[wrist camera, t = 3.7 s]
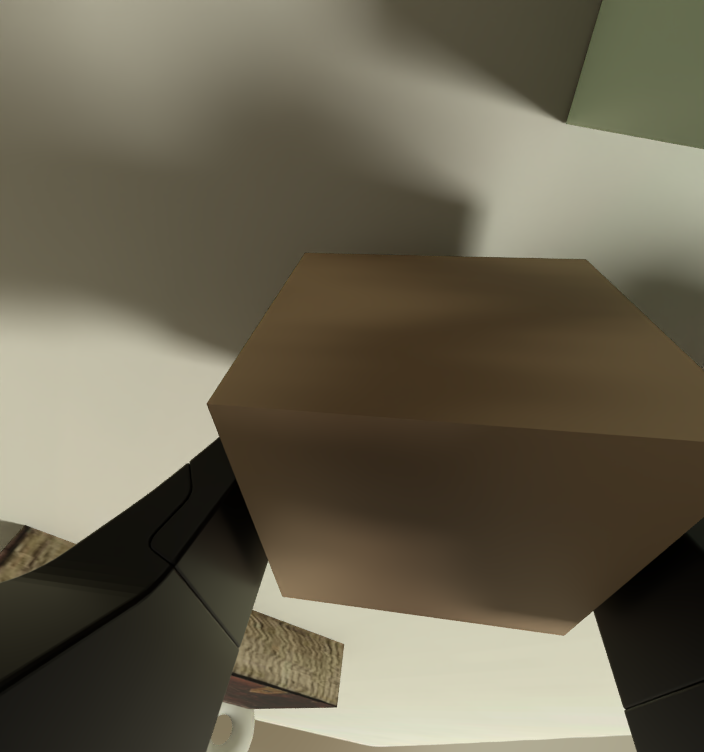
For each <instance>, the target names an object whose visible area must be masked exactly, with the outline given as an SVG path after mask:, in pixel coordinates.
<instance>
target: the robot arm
mask: <svg viewBox="0 0 704 752" xmlns="http://www.w3.org/2000/svg"><path fill="white" fill-rule="evenodd" d="M267 563H268V558H267V556H266V553H265V551H264V548H263V546H262V543H261V541H260V538H259V536H258V533H257V531H256V528H255V525H254V523H253V520H252V518H251V515H250V513H249V510H248V508H247V505H246V503H245V500H244V498H243V495H242V492H241V490H240V487H239V485H238V482H237V480H236V477H235V475H234V472H233V470H232V467H231V465H230V462H229V459H228V457H227V454H226V452H225V449H224V447H223V444H222V442H221V439H220V437H219V438H217V439H216V440H215V441H214V442H213V443H211V444H210V445H209V446H208V447H206V448H205V449H204V450H203V451H202V452H200V453H199V454H198V455H197V456H195V457H194V458H193V459H192V460H191V461H190V464H189V463H187V464H185V465H184V466H183V467H182V468H181V469H179V470H178V471H177V472H176V473H174V474H173V475H172V476H171V477H169V478H168V479H167V480H165V481H164V482H163V483H162V484H160V485H159V486H158V487H157V488H155V489H154V490H153V491H151V492H150V493H149V494H147V495H146V496H144V497H143V498H142V499H140V500H139V501H137V502H136V503H135V504H133V505H132V506H131V507H129V508H128V509H126V510H125V511H123V512H122V513H121V514H119V515H118V516H116V517H115V518H113V519H112V520H110V521H109V522H108V523H106V524H105V525H103V526H102V527H100V528H99V529H98V530H96V531H95V532H93V533H92V534H90V535H89V536H87V537H86V538H85V539H83V540H82V541H80V542H79V543H77V544H76V545H75V546H73V547H72V548H70V549H69V550H67V551H66V552H64V553H63V554H61V555H60V556H58V557H57V558H55V559H53V560H51V561H50V562H48V563H46V564H44V565H43V566H41V567H39V568H37V569H34V570H32V571H30V572H28V573H26V574H23V575H21V576H18V577H15V578H13V579H10V580H7V581H4V582H0V752H206V751H207V748H208V745H209V742H210V739H211V736H212V733H213V730H214V726H215V723H216V720H217V717H218V714H219V711H220V708H221V705H222V702H223V699H224V696H225V693H226V690H227V686H228V683H229V680H230V677H231V674H232V671H233V668H234V665H235V662H236V659H237V656H238V653H239V647H240V646H241V643H242V640H243V637H244V634H245V630H246V627H247V624H248V621H249V618H250V615H251V612H252V609H253V606H254V603H255V600H256V596H257V593H258V590H259V587H260V584H261V581H262V578H263V575H264V572H265V569H266V566H267ZM594 615H595V618H596V621H597V624H598V627H599V631H600V634H601V637H602V640H603V643H604V647H605V650H606V653H607V656H608V659H609V663H610V666H611V669H612V672H613V676H614V679H615V682H616V685H617V688H618V692H619V695H620V698H621V701H622V704H623V707H624V708H625V709H626V710H625V711H624V712H625V715H626V718H627V721H628V725H629V728H630V731H631V734H632V738H633V741H634V744H635V747H636V750H637V752H704V517H703V518H702V519H701V520H700V521H699V522H697V523H696V524H695V525H694V526H693V527H691V528H690V529H689V530H688V531H687V532H686V533H684V534H683V535H682V536H681V537H680V538H678V539H677V540H676V541H675V542H674V543H673V544H671V545H670V546H669V547H668V548H667V549H666V550H664V551H663V552H662V553H661V554H660V555H658V556H657V557H656V558H655V559H654V560H653V561H651V562H650V563H649V564H648V565H647V566H645V567H644V568H643V569H642V570H641V571H640V572H638V573H637V574H636V575H635V576H634V577H632V578H631V579H630V580H629V581H628V582H627V583H625V584H624V585H623V586H622V587H621V588H620V589H618V590H617V591H616V592H615V593H614V594H612V595H611V596H610V597H609V598H608V599H607V600H605V601H604V602H603V603H602V604H601V605H599V606H598V607H597V608H596V609H595V610H594Z"/></svg>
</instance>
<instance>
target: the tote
mask: <svg viewBox="0 0 704 752" xmlns="http://www.w3.org/2000/svg"><path fill="white" fill-rule="evenodd" d="M566 124H570V125H575V126H581V127H586V128H592V129H597V130H602V131H608V132H613V133H619V134H624V135H630V136H635V137H641V138H646V139H651V140H657V141H662V142H668V143H673V144H679V145H684V146H690V147H695V148H700V149H704V0H602V4H601V7H600V10H599V14H598V17H597V21H596V24H595V27H594V31H593V34H592V37H591V41H590V44H589V48H588V51H587V54H586V58H585V61H584V65H583V68H582V71H581V75H580V78H579V82H578V85H577V88H576V92H575V95H574V99H573V102H572V105H571V109H570V112H569V115H568V119H567V122H566Z"/></svg>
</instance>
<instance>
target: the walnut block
mask: <svg viewBox="0 0 704 752" xmlns="http://www.w3.org/2000/svg"><path fill="white" fill-rule="evenodd" d="M207 406H208V409H209V411H210V414H211V416H212V419H213V421H214V424H215V426H216V429H217V431H218V434H219V437H220V439H221V442H222V444H223V447H224V449H225V452H226V454H227V457H228V459H229V462H230V465H231V467H232V470H233V472H234V475H235V477H236V480H237V482H238V485H239V487H240V490H241V492H242V495H243V498H244V500H245V503H246V505H247V508H248V510H249V513H250V515H251V518H252V520H253V523H254V525H255V528H256V531H257V533H258V536H259V538H260V541H261V543H262V546H263V548H264V551H265V553H266V556H267V558H268V561H269V564H270V566H271V569H272V571H273V574H274V576H275V579H276V581H277V584H278V586H279V589H280V592H281V594H282V597H289V598H296V599H304V600H311V601H318V602H325V603H332V604H340V605H347V606H354V607H361V608H368V609H376V610H383V611H390V612H397V613H404V614H412V615H419V616H426V617H433V618H440V619H448V620H455V621H462V622H469V623H476V624H484V625H491V626H498V627H505V628H512V629H520V630H527V631H534V632H541V633H548V634H556V635H563V636H564V635H565V634H566V633H568V632H569V631H570V630H571V629H572V628H574V627H575V626H576V625H577V624H578V623H579V622H581V621H582V620H583V619H584V618H585V617H587V616H588V615H589V614H590V613H591V612H592V611H594V610H595V609H596V608H597V607H598V606H599V605H601V604H602V603H603V602H604V601H605V600H607V599H608V598H609V597H610V596H611V595H612V594H614V593H615V592H616V591H617V590H618V589H620V588H621V587H622V586H623V585H624V584H625V583H627V582H628V581H629V580H630V579H631V578H632V577H634V576H635V575H636V574H637V573H638V572H640V571H641V570H642V569H643V568H644V567H645V566H647V565H648V564H649V563H650V562H651V561H653V560H654V559H655V558H656V557H657V556H658V555H660V554H661V553H662V552H663V551H664V550H666V549H667V548H668V547H669V546H670V545H671V544H673V543H674V542H675V541H676V540H677V539H678V538H680V537H681V536H682V535H683V534H684V533H686V532H687V531H688V530H689V529H690V528H691V527H693V526H694V525H695V524H696V523H697V522H699V521H700V520H701V519H702V518H703V517H704V371H703V370H702V369H701V368H700V367H699V366H698V365H697V364H696V363H695V362H694V361H693V360H692V359H691V358H690V357H689V356H688V355H687V354H686V353H684V352H683V351H682V350H681V349H680V348H679V347H678V346H677V345H676V344H675V343H674V342H673V341H672V340H671V339H670V338H669V337H668V336H667V335H665V334H664V333H663V332H662V331H661V330H660V329H659V328H658V327H657V326H656V325H655V324H654V323H653V322H652V321H651V320H650V319H649V318H647V317H646V316H645V315H644V314H643V313H642V312H641V311H640V310H639V309H638V308H637V307H636V306H635V305H634V304H633V303H632V302H631V301H630V300H628V299H627V298H626V297H625V296H624V295H623V294H622V293H621V292H620V291H619V290H618V289H617V288H616V287H615V286H614V285H613V284H612V283H611V282H609V281H608V280H607V279H606V278H605V277H604V276H603V275H602V274H601V273H600V272H599V271H598V270H597V269H596V268H595V267H594V266H593V265H591V264H590V263H589V262H588V261H587V260H586V259H548V258H505V257H462V256H419V255H376V254H334V253H305V254H304V255H303V257H302V258H301V260H300V261H299V263H298V264H297V266H296V267H295V269H294V271H293V272H292V274H291V275H290V277H289V278H288V280H287V281H286V283H285V284H284V286H283V287H282V289H281V290H280V292H279V294H278V295H277V297H276V298H275V300H274V301H273V303H272V304H271V306H270V307H269V309H268V310H267V312H266V314H265V315H264V317H263V318H262V320H261V321H260V323H259V324H258V326H257V327H256V329H255V330H254V332H253V333H252V335H251V337H250V338H249V340H248V341H247V343H246V344H245V346H244V347H243V349H242V350H241V352H240V353H239V355H238V356H237V358H236V360H235V361H234V363H233V364H232V366H231V367H230V369H229V370H228V372H227V373H226V375H225V376H224V378H223V379H222V381H221V383H220V384H219V386H218V387H217V389H216V390H215V392H214V393H213V395H212V396H211V398H210V399H209V401H208V402H207Z"/></svg>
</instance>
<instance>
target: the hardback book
mask: <svg viewBox="0 0 704 752" xmlns="http://www.w3.org/2000/svg"><path fill="white" fill-rule="evenodd" d="M75 545H76V544H74V543H71V542H69V541H66V540H63V539H61V538H58V537H55V536H53V535H50V534H47V533H45V532H42V531H39V530H37V529H34V528H31V527H29V526H26V525H25V526H24V527H23V528H22V529H21V530H20V531H19V532H18V533H17V535H16V536H15V537H14V538H13V539H12V540H11V541H10V542H9V544H8V545H7V546H6V547H5V548H4V549H3V550H2V551H1V553H0V582H4V581H7V580H10V579H13V578H15V577H18V576H21V575H23V574H26V573H28V572H30V571H32V570H34V569H37V568H39V567H41V566H43V565H44V564H46V563H48V562H50V561H51V560H53V559H55V558H57V557H58V556H60V555H61V554H63V553H64V552H66V551H67V550H69V549H70V548H72V547H73V546H75ZM343 650H344V644H342V643H339V642H337V641H334V640H331V639H329V638H326V637H323V636H321V635H318V634H315V633H313V632H310V631H307V630H305V629H302V628H299V627H297V626H294V625H291V624H289V623H286V622H283V621H281V620H278V619H275V618H272V617H270V616H267V615H264V614H262V613H259V612H256V611H254V610H252V612H251V615H250V618H249V621H248V624H247V627H246V630H245V634H244V637H243V640H242V643H241V646H240V647H239V653H238V656H237V659H236V662H235V665H234V668H233V671H232V674H231V677H230V680H229V683H228V686H227V690H226V693H225V696H224V699H223V702H225V703H228V704H232V705H236V706H239V707H243V708H246V709H273V708H331V707H337V702H338V693H339V684H340V676H341V667H342V658H343Z"/></svg>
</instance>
